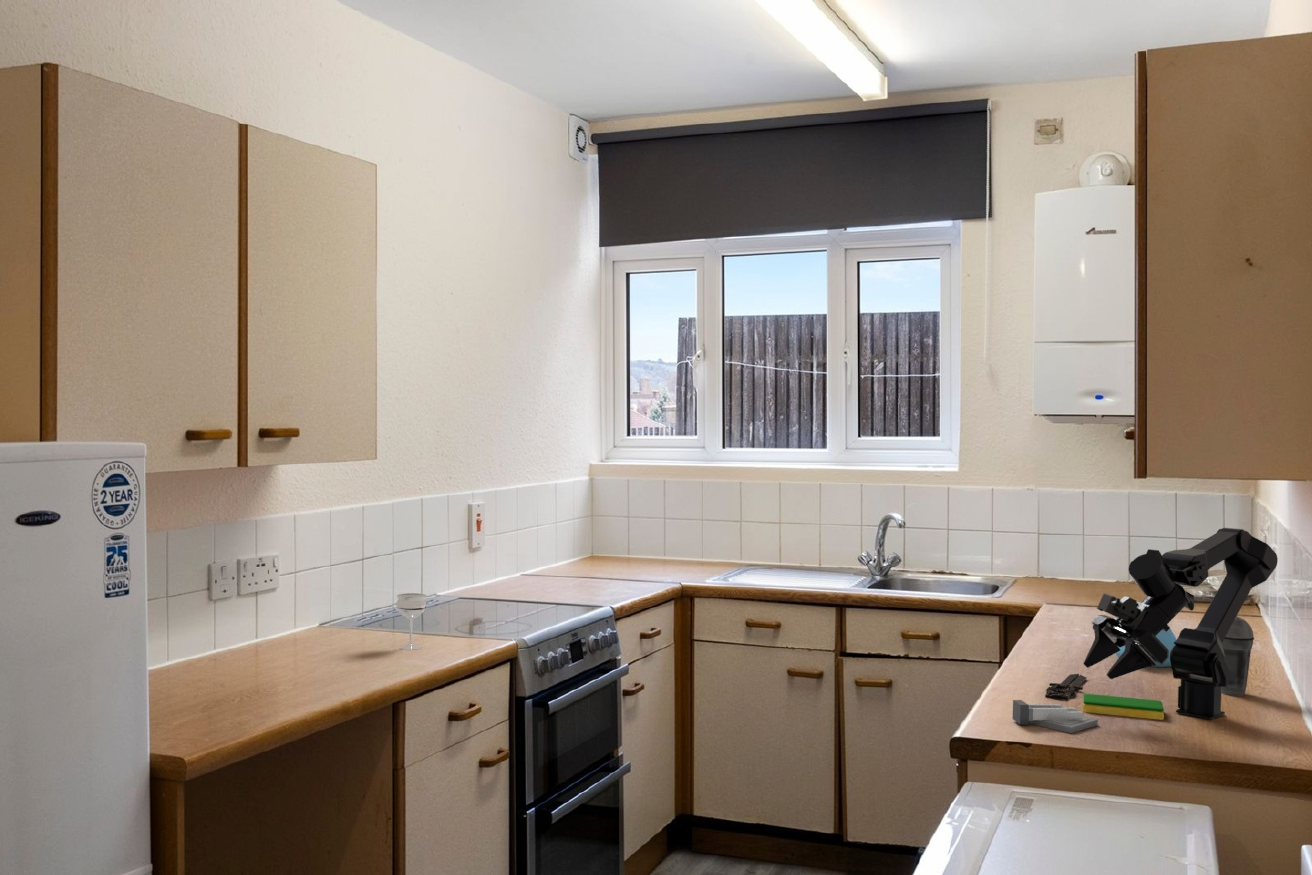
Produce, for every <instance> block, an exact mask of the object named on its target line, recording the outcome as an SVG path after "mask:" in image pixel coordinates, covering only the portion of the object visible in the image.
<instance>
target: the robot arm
mask: <svg viewBox="0 0 1312 875" xmlns="http://www.w3.org/2000/svg"><path fill="white" fill-rule="evenodd" d="M1222 562H1224V567H1225V570H1226V574H1225V577H1224V578H1223V580H1222V582H1221V583H1220V585H1219V587H1218V589H1217V591H1216V592H1215V595H1214V596H1213V598H1212V600H1211V601H1210V604H1209V605H1208V607H1207V609H1206V610H1205V612H1204V614H1203V616H1202V618H1200V622H1199V623H1198V625H1197V627H1196V628H1188V627H1183V628H1182V629H1181V631H1180V632H1179V636H1178V637H1176V639H1177V640H1176V641H1175V642H1174V644H1175V645H1174V647H1173V648H1172V650H1171V652H1170V662H1171V666H1170V667H1171V672H1172V678H1173V679H1174V680H1175V679H1176V680H1178V679H1179V680H1180V685H1178V687H1177V691H1178V692H1177V709H1175V713H1177V714H1181V715H1186V716H1192V717H1197V718H1201V719H1206V720H1213V719H1215V718H1216V719H1217V718H1219V717H1223V716H1225V714H1226V712H1225V711H1222V693H1221V687H1227V685H1228V684H1229V683H1230V678H1231V672H1230V670H1229V668H1228V667H1227V665H1226V663H1225V662H1224V658H1225V655H1224V650H1223V646H1222V642H1223V640H1224V638H1225V636H1226V635H1227V633H1228V631H1229V629H1230V627H1231V625H1232V623H1233V622H1234V620H1235V618H1236V616H1237V617H1238V614H1239V613H1240V610H1241V609H1242V607H1243V605H1244V603H1245V601H1246V600H1247V597H1248V595H1249V594H1250V593H1251V590H1252V589H1253V588H1255V587H1257V586H1259V585H1260V584H1262V583H1265V582H1266V581H1267V580H1268V579H1269V578H1270V576H1271V575H1272V574H1273V572H1274V570H1276V569H1277V566H1278V555H1277V553H1276V552H1275V551H1274V549H1273V548H1272V546H1270V545H1269V544H1268V543H1267V542H1265V541H1262V540H1260V539H1258V538H1257V537H1255V536H1252V535H1251V533H1250V532H1249V531H1247V530H1245V529H1243V528H1231V527H1222V528H1219V529H1218V530H1217V531H1216V533H1214V534H1212V535H1211V536H1209V537H1207V538H1205V539H1203V540H1202V541H1200V542H1198V543H1196V544H1195V545H1194V546H1192V547H1191V548H1183V549H1174V550H1169V551H1166V552H1164V553H1163V554H1162V553H1161V552H1160V550H1159V549H1158V550H1157V549H1147V551H1146V553H1144V554H1141V555H1138V556H1137V557H1135V558H1134V559H1133V560H1131V561H1130V563H1129V565H1128V573H1129V575H1130V576H1131V578H1132V579H1133V580H1134V582H1135V583H1136V585H1137V586H1138V588H1139V589H1140V590H1141V591H1142V593H1143V594H1144V595H1146V597H1145V598H1143V600H1141V602H1140V601H1137V600H1136V599H1134V598H1132V597H1130V596H1126V595H1125V596H1123V597H1122V598H1121V599H1120V598H1119V597H1116V596H1113V595H1111V594H1107V593H1103V594H1102V596H1101V599H1100V601H1099V603H1098V605H1097V606H1096V610H1099V611H1101V612H1104V613H1107V614H1109V615H1110V616H1108V615H1105V614H1099V615H1097V616H1095V618H1094V619H1093V620H1091V624H1092V629H1093V633H1094V640H1093V641H1092V645H1091V646H1090V649H1089V651H1088V653H1087V654H1086V656H1085V658H1084V661H1083V665H1084V666H1085V667H1086V668H1090V667H1092V666H1094V665H1096V664H1098V663H1100V662H1101V661H1104V660H1105V659H1106V660H1107V658H1109V657H1111V656H1113V655H1116V653H1117V652H1119V651H1120V648H1119V647H1123V646H1125V651H1124V652H1123V653H1122V655H1121V656H1120V657H1119V658H1118V659H1117V660H1116V661H1115V662H1114V664H1113V665H1112V666H1111V667H1110V668H1109V670H1108V672H1107V673H1106V677H1108V679H1110V680H1114V679H1116V678H1119V677H1122V676H1124V675H1127V674H1130V673H1134V672H1135V671H1139V670H1142V669H1145V668H1149V667H1150V666H1155V665H1156V664H1155V663H1158V664H1160V665H1162V664H1163V663H1164V662H1165V661H1166V660H1167V659H1168V658H1169V650H1168V649H1167V648H1166V647H1165V646H1164V645H1163V644H1162V643H1161V642H1160V641H1159V639H1158V638H1157V637H1156V635H1157V634H1158V633H1159V632H1160V631H1161V630H1163V631H1166V632H1167V631H1168V630H1169V629H1171V627H1170V626H1169V623H1170V622H1171V621H1172V620H1173V619H1174V618H1175V617H1176V616H1177V615H1178V614H1179V613H1180V612H1181V610H1184V608H1185V609H1188V610H1190V611H1194V608H1195V602H1194V599H1195V595H1194V594H1192V593H1190V592H1188V591H1187V590H1185V589H1184V587H1183V586H1187V587H1199V586H1200V585H1201V584H1203V583H1204V581H1205V580H1207V579H1208V577H1209V570H1210V569H1211V568H1213V567H1215V566H1216V565H1218V564H1220V563H1222ZM1111 615H1112V616H1114V617H1115V618H1113V617H1111ZM1153 661H1154V662H1155V663H1154V662H1153Z"/></svg>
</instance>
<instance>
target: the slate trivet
mask: <svg viewBox="0 0 1312 875" xmlns="http://www.w3.org/2000/svg"><path fill="white" fill-rule="evenodd" d="M1098 722H1099V720H1098V719H1096V718H1092V717H1088V716H1084V715H1083V719H1068V720H1033V721H1028V724H1031V725H1036V726H1040V727H1042V728H1043V727H1045V728H1047V729H1050V730H1051V729H1052V730H1056V731H1061V732H1063V733H1069V734H1072V733H1077V732H1079V731H1082V730H1086V729H1089V728H1092V727H1096V726H1099V723H1098Z"/></svg>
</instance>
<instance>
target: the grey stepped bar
mask: <svg viewBox="0 0 1312 875" xmlns="http://www.w3.org/2000/svg"><path fill="white" fill-rule="evenodd" d="M1083 716H1084V711H1081V710H1079V711H1078V710H1077V707H1074V706H1073V707H1071V706H1070V707H1063V705H1061V703H1026V702H1025V701H1023V699H1012V720H1013V721H1015V722H1016V723H1017V724H1018V725H1029V723H1028V721H1033V720H1068V719H1083Z"/></svg>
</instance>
